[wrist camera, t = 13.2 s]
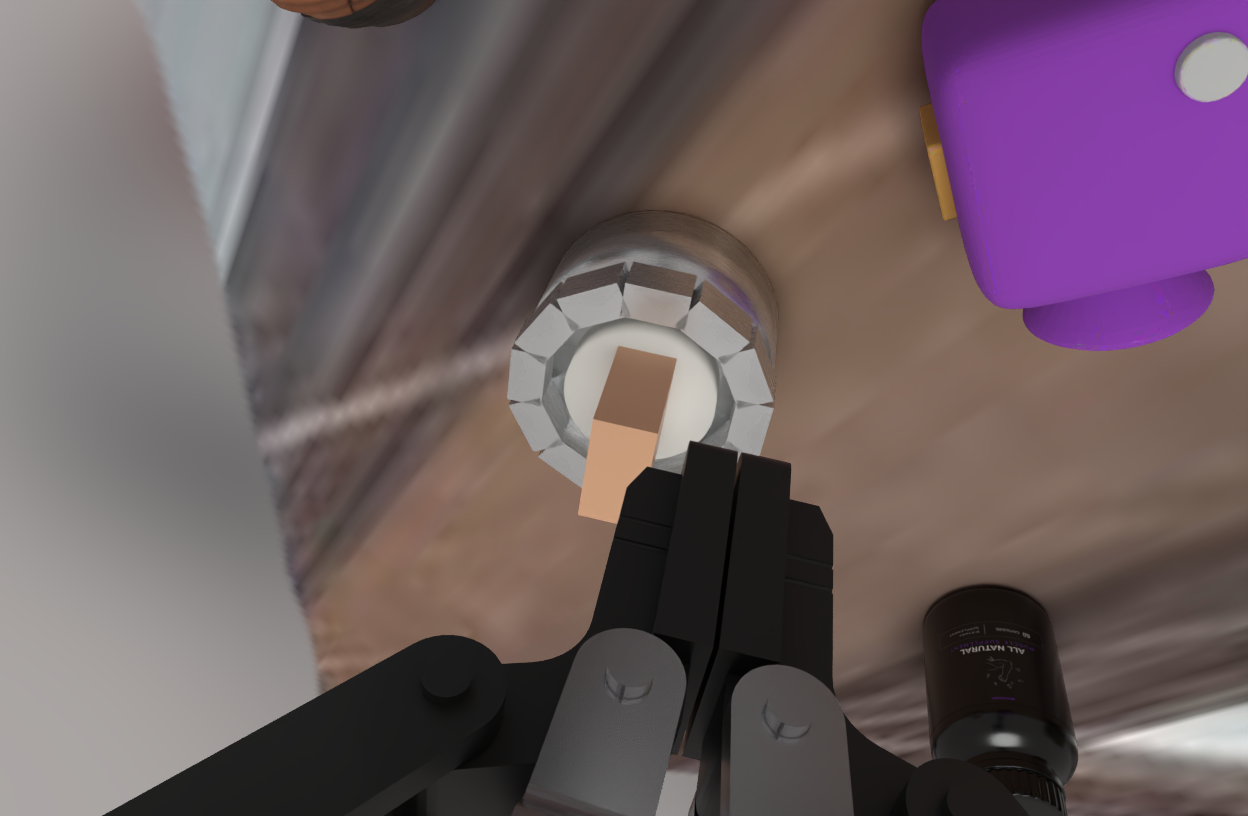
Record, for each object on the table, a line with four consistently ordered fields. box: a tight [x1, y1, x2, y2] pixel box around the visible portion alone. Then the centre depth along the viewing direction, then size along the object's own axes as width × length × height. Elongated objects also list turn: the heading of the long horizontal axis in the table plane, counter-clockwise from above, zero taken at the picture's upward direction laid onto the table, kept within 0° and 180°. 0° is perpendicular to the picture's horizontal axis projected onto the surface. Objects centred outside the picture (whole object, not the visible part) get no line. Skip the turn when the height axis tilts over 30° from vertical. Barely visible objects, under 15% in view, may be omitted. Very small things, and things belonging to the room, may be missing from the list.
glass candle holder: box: [507, 211, 779, 488], centre depth 43 cm, size 11×11×7 cm
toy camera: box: [919, 0, 1248, 351], centre depth 33 cm, size 11×14×10 cm
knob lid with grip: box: [564, 317, 720, 524], centre depth 38 cm, size 6×6×7 cm
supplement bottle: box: [923, 587, 1078, 816], centre depth 48 cm, size 7×7×12 cm
